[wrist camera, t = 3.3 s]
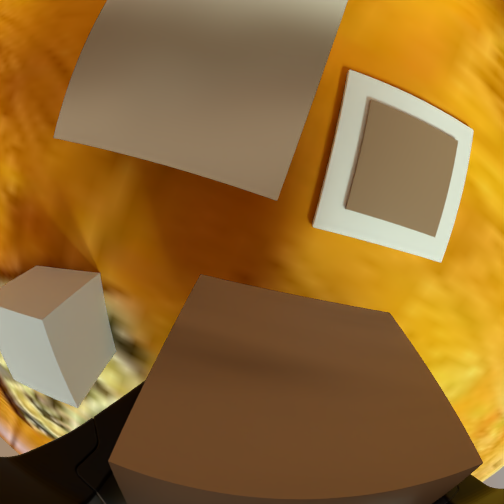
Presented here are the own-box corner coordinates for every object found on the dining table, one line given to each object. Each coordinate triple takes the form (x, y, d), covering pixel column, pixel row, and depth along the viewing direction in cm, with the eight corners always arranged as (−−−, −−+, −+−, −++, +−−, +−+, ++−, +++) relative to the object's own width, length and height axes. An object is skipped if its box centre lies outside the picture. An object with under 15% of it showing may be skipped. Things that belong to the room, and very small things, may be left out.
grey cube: (116, 350, 15) (78, 408, 10) (56, 335, 15) (13, 379, 10) (100, 272, 13) (42, 319, 8) (37, 264, 13) (-19, 300, 8)
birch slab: (272, 188, 12) (277, 200, 8) (107, 140, 11) (53, 137, 7) (328, 30, 9) (352, -14, 5) (166, -4, 9) (137, -45, 5)
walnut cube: (324, 428, 10) (343, 550, 4) (183, 406, 10) (145, 536, 4) (389, 312, 8) (483, 463, 2) (200, 274, 8) (108, 461, 2)
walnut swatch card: (437, 260, 12) (442, 263, 11) (311, 225, 12) (313, 228, 11) (470, 130, 10) (475, 130, 9) (347, 71, 10) (350, 67, 9)
